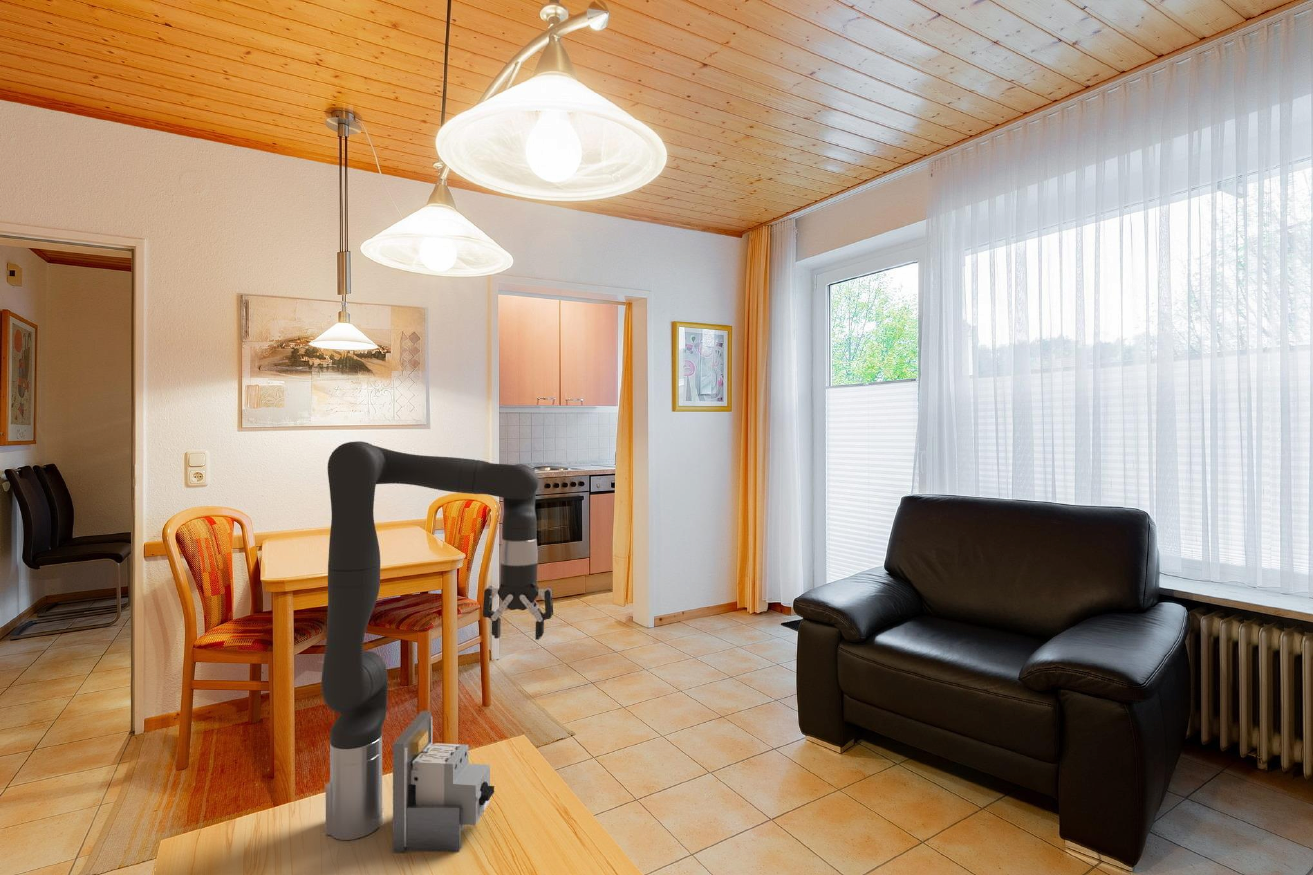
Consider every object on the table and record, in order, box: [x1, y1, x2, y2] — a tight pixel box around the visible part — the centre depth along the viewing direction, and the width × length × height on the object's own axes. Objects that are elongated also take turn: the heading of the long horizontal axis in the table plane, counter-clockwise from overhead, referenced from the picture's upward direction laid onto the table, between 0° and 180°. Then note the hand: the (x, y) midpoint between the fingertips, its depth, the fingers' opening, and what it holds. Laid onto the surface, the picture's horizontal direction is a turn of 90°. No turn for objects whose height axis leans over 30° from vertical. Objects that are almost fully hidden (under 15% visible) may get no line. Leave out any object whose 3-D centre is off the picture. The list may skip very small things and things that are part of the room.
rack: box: [392, 710, 462, 854], centre depth 124 cm, size 12×14×20 cm
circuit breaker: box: [411, 742, 495, 831], centre depth 124 cm, size 8×14×15 cm, turn 85°
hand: (517, 637), depth 133 cm, fingers open, 8 cm apart
